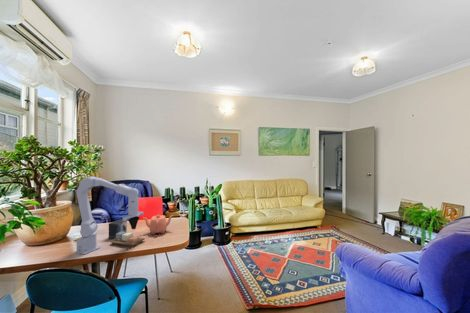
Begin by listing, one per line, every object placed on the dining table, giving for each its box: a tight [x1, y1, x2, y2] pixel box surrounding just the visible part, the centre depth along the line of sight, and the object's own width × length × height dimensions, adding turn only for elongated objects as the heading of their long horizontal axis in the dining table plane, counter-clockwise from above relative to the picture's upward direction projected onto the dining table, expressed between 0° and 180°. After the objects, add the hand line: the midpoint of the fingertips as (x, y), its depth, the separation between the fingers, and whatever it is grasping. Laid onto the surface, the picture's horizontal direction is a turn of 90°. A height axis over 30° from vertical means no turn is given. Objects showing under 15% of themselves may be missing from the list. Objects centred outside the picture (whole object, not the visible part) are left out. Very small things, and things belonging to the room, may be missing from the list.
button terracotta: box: [128, 236, 140, 245], centre depth 134 cm, size 4×4×4 cm
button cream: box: [122, 231, 134, 241], centre depth 136 cm, size 4×4×4 cm
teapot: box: [142, 214, 174, 236], centre depth 155 cm, size 15×17×13 cm
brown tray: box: [109, 236, 146, 250], centre depth 136 cm, size 11×18×2 cm, turn 69°
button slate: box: [116, 231, 128, 240], centre depth 138 cm, size 4×4×4 cm
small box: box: [108, 218, 128, 240], centre depth 148 cm, size 11×6×10 cm, turn 168°
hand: (133, 228), depth 134 cm, fingers closed
